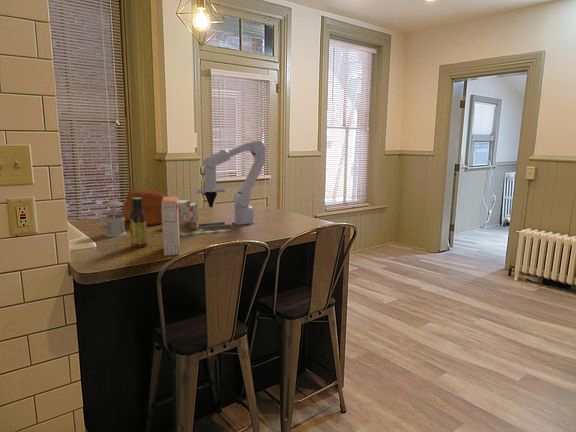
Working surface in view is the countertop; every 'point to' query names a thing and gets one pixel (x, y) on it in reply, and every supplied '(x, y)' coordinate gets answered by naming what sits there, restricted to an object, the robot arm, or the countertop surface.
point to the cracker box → (170, 225)
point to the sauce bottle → (138, 224)
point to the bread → (145, 205)
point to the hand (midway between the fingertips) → (210, 206)
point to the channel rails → (214, 226)
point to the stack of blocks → (187, 211)
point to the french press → (114, 219)
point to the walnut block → (187, 226)
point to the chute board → (203, 232)
